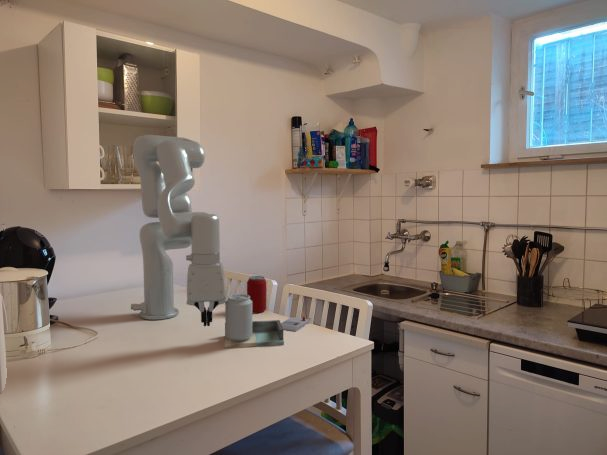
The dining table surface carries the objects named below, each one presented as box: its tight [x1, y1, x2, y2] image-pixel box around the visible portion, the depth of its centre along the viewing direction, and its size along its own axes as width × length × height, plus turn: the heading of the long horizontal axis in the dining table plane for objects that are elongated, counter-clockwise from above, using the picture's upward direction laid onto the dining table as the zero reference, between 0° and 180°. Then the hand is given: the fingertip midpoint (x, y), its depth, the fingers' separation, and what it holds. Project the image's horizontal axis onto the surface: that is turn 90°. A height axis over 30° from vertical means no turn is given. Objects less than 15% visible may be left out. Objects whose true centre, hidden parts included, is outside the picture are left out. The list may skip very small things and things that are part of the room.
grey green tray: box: [224, 319, 285, 349], centre depth 126 cm, size 16×10×4 cm, turn 100°
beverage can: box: [246, 275, 267, 314], centre depth 157 cm, size 7×7×12 cm
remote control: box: [281, 316, 312, 333], centre depth 141 cm, size 7×16×3 cm, turn 155°
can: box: [224, 293, 253, 341], centre depth 125 cm, size 8×8×12 cm
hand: (206, 324), depth 123 cm, fingers closed
